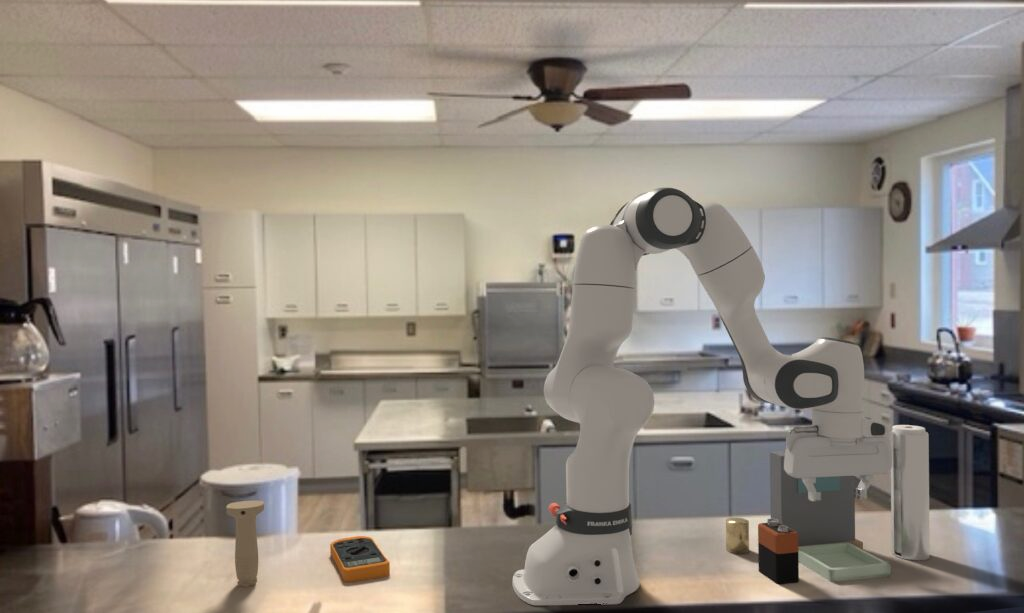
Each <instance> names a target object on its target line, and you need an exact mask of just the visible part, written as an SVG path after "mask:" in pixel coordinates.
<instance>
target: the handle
mask: <svg viewBox="0 0 1024 613" xmlns="http://www.w3.org/2000/svg"><path fill="white" fill-rule="evenodd" d="M225 509H226V515H228V516H229V517H230V516H231V517H233V518H234V519H235V547H234V548H235V549H234V550H235V551H234V566H235V574H236V578H237V580H238V581H237V582H236V583H237V587H243V588H248V587H250V586H256V584H257V582H258V574H259V572H258V571H259V547H258V535H257V524H256V519H257V516H259V514H261V513H262V512H263V511H264V509H265V502H264V500H242V501H235V502H230V503H228V504H227V505H226V508H225Z"/></svg>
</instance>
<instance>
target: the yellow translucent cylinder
mask: <svg viewBox="0 0 1024 613" xmlns="http://www.w3.org/2000/svg"><path fill="white" fill-rule="evenodd" d="M725 548H726V549H725V550H726V552H728V553H730V554H734V555H735V554H736V555H746V554H749V553H750V522H749V520H748V519H746V518H742V517H728V518H726V519H725Z"/></svg>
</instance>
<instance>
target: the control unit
mask: <svg viewBox="0 0 1024 613" xmlns="http://www.w3.org/2000/svg"><path fill="white" fill-rule="evenodd" d="M785 451H786V450H782V451H781V450H778V451H770V452H769V476H770V477H769V480H770V481H769V482H770V483H769V485H770V488H769V490H770V492H769V493H770V497H769V498H770V499H769V500H770V502H769V503H770V519H771V518H773V519H777V520H778V522H779V523H781V524H783V525H785V526H787V527H788V528H790V529H792V530H794V531H795V532H797V533H798V547H801V546H812V545H823V544H834V543H845V542H849V543H851V544H852V545H854V546H856V547H858V548H860V549H862V550H864V542H863V541H861V540H859V539H857V538H856V509H855V508H856V507H855V506H856V504H855V503H856V502H855V501H856V498H855V497H854V488H856V486H855V485H856V483H855V478H856V477H855V476H836V477H816V483H813V485H814V487H815V489H816V490H817V491H819V492H821V496H820V498H821V500H820V501H810V500H809V499H808V490H807V488H806V486H805V485H804V483H803V481H802V478H794V477H792V476H790V475H788V474H787V473H786V472H785V470H784V458H785Z"/></svg>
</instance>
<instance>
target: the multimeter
mask: <svg viewBox="0 0 1024 613" xmlns="http://www.w3.org/2000/svg"><path fill="white" fill-rule="evenodd" d="M330 557H331V558H332V560H333V561H334V563H335V565H336V566H337V569H338V570H339V573H340V574H341V578H342V581H343V582H345V583H355V582H361V581H365V580H366V581H367V580H372V579H378V578H384V577H387V576H389V575H390V569H391V568H390V561H389V560H388V558H387V557H386V556H385V554H384V553H383V552H382V550H381V549H380V548H379V546H378V544H377V543H376V542H375V540H374V539H373V538H372V537H371V536H366V535H361V536H360V535H358V536H351V537H349V536H348V537H343V538H338V539H336V540H334V541H331V543H330Z"/></svg>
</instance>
